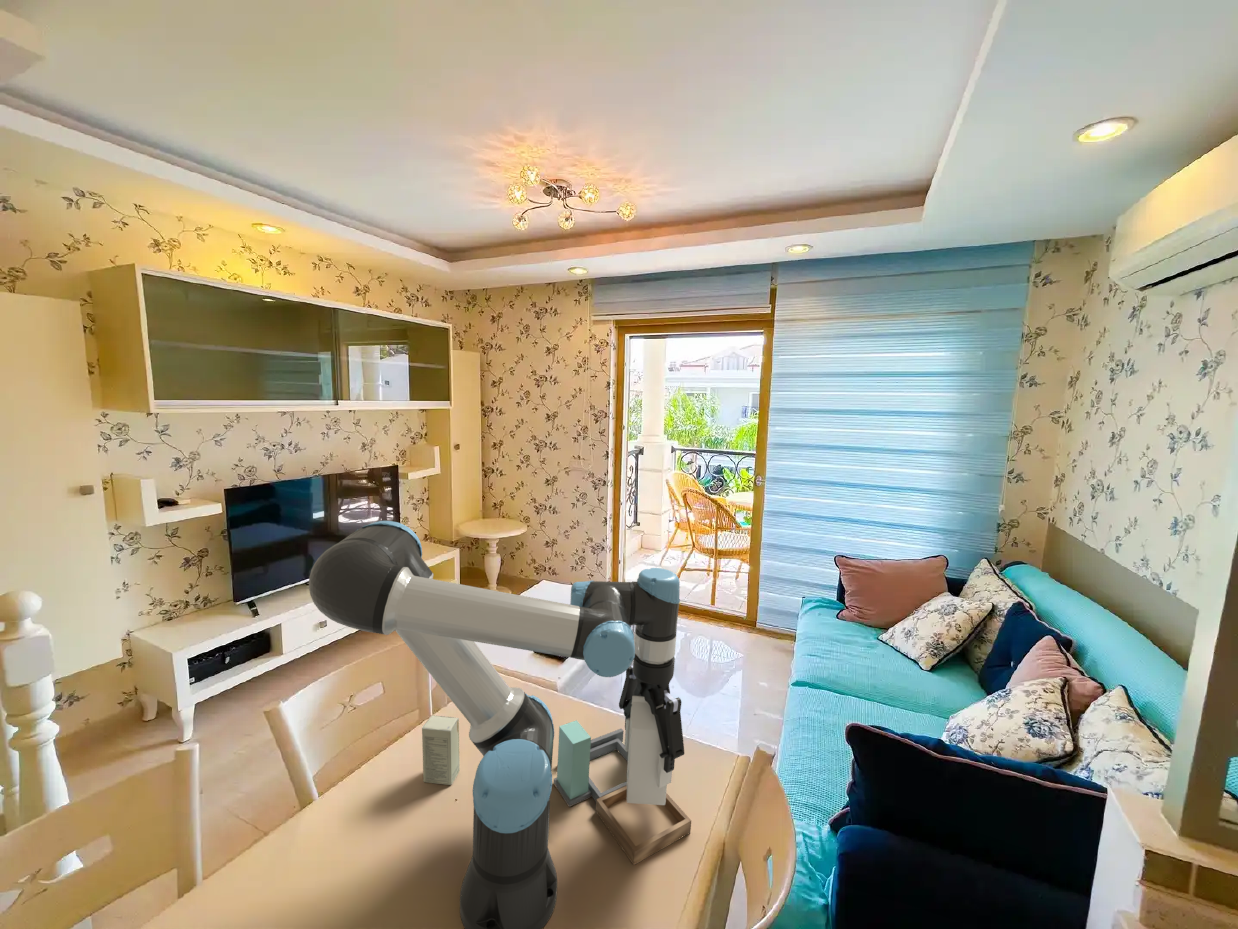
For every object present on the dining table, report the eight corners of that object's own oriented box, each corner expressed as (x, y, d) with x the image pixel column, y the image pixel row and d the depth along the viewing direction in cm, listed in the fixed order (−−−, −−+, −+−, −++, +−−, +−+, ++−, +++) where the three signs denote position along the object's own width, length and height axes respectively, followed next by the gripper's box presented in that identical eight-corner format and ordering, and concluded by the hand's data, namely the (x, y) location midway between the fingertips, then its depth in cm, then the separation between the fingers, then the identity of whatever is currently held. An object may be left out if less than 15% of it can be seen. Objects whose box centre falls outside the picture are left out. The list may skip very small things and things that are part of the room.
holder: (575, 817, 96) (579, 755, 94) (544, 770, 107) (547, 714, 106) (669, 773, 108) (673, 718, 107) (632, 735, 120) (636, 685, 118)
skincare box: (460, 770, 106) (461, 717, 104) (451, 786, 101) (452, 731, 100) (431, 767, 106) (431, 714, 105) (421, 782, 102) (421, 727, 100)
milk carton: (665, 806, 91) (672, 710, 89) (626, 803, 91) (632, 708, 89) (662, 777, 98) (669, 687, 96) (626, 774, 98) (632, 685, 96)
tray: (633, 865, 87) (634, 852, 86) (595, 811, 97) (596, 799, 97) (690, 833, 94) (691, 820, 93) (649, 786, 105) (649, 774, 104)
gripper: (712, 679, 84) (702, 798, 87) (635, 625, 102) (629, 725, 105) (678, 691, 80) (668, 816, 83) (604, 632, 98) (599, 736, 101)
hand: (646, 765), depth 94 cm, fingers closed on milk carton, 10 cm apart
